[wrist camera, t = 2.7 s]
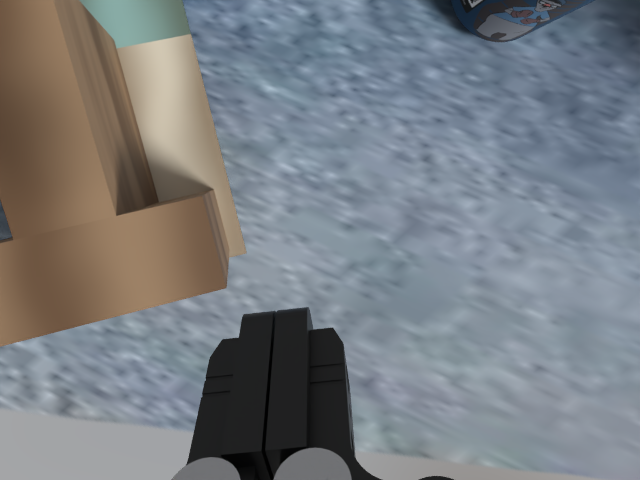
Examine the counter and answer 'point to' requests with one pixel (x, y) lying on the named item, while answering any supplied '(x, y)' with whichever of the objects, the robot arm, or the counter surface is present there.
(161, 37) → the board
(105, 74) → the t block
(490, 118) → the counter surface
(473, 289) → the counter surface
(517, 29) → the soda can
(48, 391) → the counter surface
